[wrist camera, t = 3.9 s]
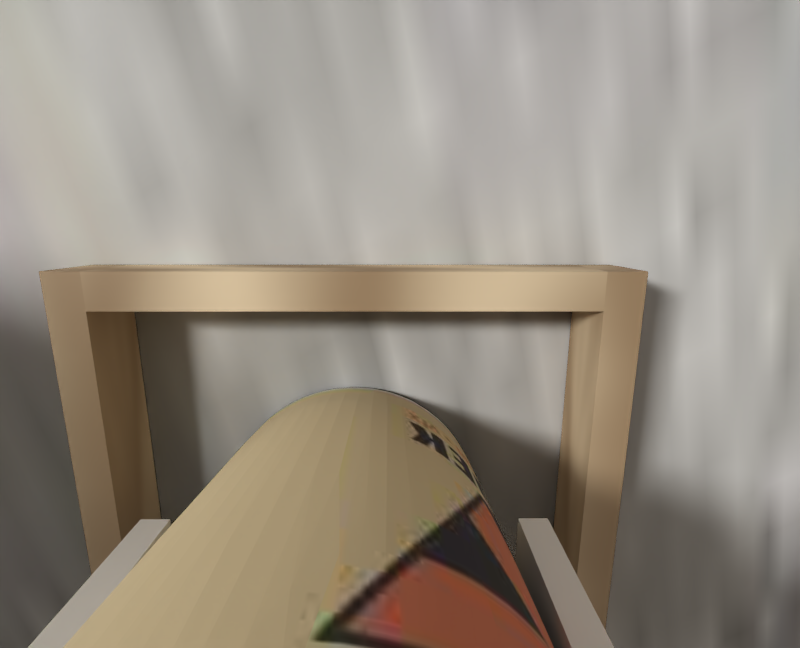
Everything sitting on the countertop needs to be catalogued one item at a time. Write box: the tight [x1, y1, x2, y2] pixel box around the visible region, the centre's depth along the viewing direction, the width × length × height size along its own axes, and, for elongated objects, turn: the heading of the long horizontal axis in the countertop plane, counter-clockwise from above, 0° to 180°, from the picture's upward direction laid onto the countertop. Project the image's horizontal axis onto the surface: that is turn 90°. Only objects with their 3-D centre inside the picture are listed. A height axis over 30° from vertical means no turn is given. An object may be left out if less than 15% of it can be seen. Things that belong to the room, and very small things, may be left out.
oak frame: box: [39, 265, 648, 629], centre depth 13 cm, size 15×15×2 cm
